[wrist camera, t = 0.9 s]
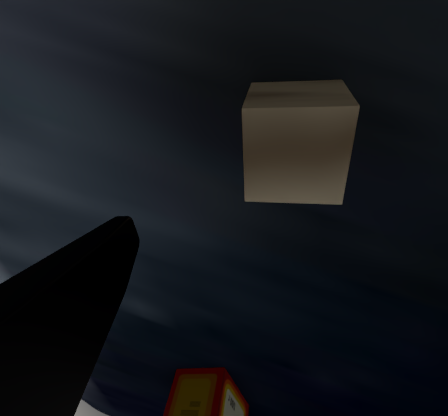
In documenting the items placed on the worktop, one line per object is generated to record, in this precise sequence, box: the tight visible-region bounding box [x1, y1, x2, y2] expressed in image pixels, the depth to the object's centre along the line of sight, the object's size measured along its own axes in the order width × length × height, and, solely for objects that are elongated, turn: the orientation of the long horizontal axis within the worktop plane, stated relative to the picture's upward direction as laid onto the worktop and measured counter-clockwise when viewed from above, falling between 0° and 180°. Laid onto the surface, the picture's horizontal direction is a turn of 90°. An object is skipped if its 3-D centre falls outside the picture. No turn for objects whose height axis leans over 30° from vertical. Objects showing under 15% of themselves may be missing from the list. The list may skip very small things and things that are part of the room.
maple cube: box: [242, 80, 360, 205], centre depth 17 cm, size 5×5×5 cm
